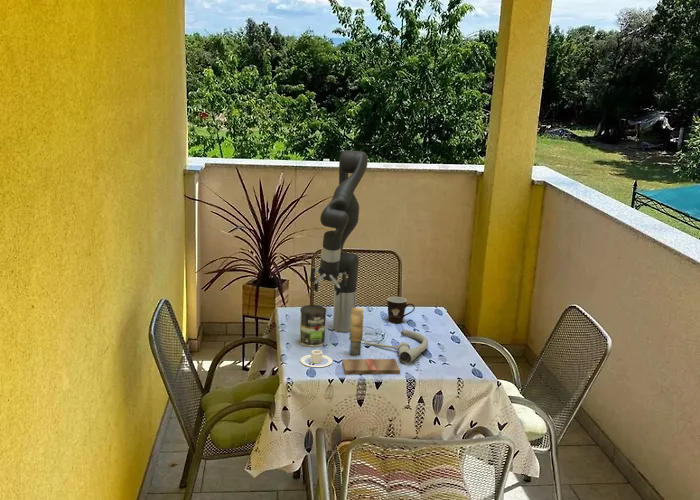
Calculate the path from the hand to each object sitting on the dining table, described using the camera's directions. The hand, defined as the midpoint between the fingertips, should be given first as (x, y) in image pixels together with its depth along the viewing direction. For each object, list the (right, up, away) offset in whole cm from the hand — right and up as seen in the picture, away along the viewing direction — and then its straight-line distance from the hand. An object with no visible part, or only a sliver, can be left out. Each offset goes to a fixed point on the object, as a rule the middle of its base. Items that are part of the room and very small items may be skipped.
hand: (326, 292), depth 269 cm
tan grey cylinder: (+11, -23, -10) cm, 28 cm away
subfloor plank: (+17, -27, -23) cm, 39 cm away
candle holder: (-3, -25, -18) cm, 31 cm away
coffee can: (-6, -20, 0) cm, 21 cm away
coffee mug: (+31, -15, +28) cm, 44 cm away
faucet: (+29, -22, 0) cm, 36 cm away
